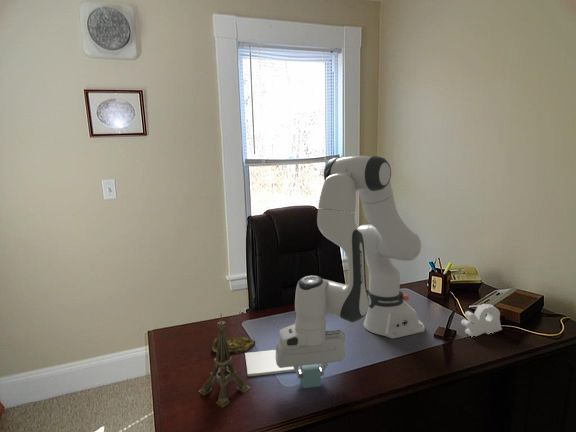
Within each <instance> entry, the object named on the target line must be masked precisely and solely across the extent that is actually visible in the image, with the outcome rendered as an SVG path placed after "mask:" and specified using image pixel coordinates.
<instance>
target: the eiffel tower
mask: <svg viewBox="0 0 576 432" xmlns="http://www.w3.org/2000/svg"><path fill="white" fill-rule="evenodd" d="M215 327H217V328H218V331H217V332H218V333H217V338H218V344H217V353H216V354H215V355H216V356H215V358H214V359H213V362H214V367H213V370H212V372H210V377H208V380H206V382H205V383H204V384H203V385H202V387H201V388H200V389H199V390H197V392H198V393H199V394H201V395H202V396H206V395H207V394H209V393H211V392H212V391H213V390H212V388H213V386H214V384H215V383H217V384H218V385H219V386H220V389H219V395H218V399H217V400H216V402H215V404H216V405H217V406H220V408H224V407H226V406H228V404H230V403H231V401H230V399H229V397H228V392H227V387H226V386H227V385H228V384H229V383H230V382H234V384H235V385H236V389H237V391H239V392H241V393H243V394H244V393H246V392H247V391H249V390H250V389H251V387H250V386H249V385H247V384H246V382H245V381H244V380H243V379H242V378H241V377H240V376H239V375H238V374H237V372H238V371H237V370H235V368H234V366H233V363H232V361H233V357H232V356H230V355H231V354H229V350H228V344H227V339H228V338H227V334H226V333H227V332H226V329H225V328H226V327H228V325H227V322H226V321H224V320H223V317H222V314H220V321H218V322H217V323H216V325H215Z"/></svg>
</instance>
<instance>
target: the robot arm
mask: <svg viewBox="0 0 576 432" xmlns="http://www.w3.org/2000/svg"><path fill="white" fill-rule="evenodd" d="M391 177H392V169H391V165H390V163H389V162H388V161H387V159H385V158H384V157H381V156H376V155H373V156H370V155H369V156H368V155H354V156H344V157H342V156H338V157H334V158H331V159H329V160H328V161H327V163H326V164H325V165H324V169H323V178H324V181H323V182H324V183H323V184H322V189H321V192H320V196H319V200H318V201H319V202H318V206H317V214H316V215H317V217H316V224H317V227H318V228H317V229H318V230H319V231H320V233H321V234H322V236H323V237H325V238H326V239H327V240H329V241H331V242H332V243H333V244H335V245H337V246H338V247H339V248H340V249H342V251H343V252H344V253H345V255H346V258H347V273H348V274H347V275H348V276H347V277H348V284H345V283H341V282H336V281H333V280H329V279H324V278H322V277H321V276H319V275H306V276H303V277H301V278H300V279H299V280H298V281H297V284H296V289H295V299H294V311H295V314H296V317H295V322H294V323H293V324H291V325H288V326H286V327H283V328H281V329H280V330H279V333H278V334H279V339H278V340H277V343H276V347H275V350H276V364H277V366H278V367H279V368H284V367H294V370H295V371H294V372H296V378H297V379H301V378H303V373H302V370H298V369H300V366H302V365H311V364H318V365H319V364H321V366H319V368H320V370H321V377H323V376H325V371H326V369H327V367H328V366H329V363H336V362H338V363H339V362H343V361H344V359H346V351H345V344H344V343H345V341H346V335H345V333H344V332H343V331H342V330H340V329H336V330H327V321H326V317H325V315H326V314H328V315H330V316H334V317H338V318H341V319H342V320H345V321H346V322H347V321H348V322H350V323H355V322H357V321H359V320H361V319H363V318H364V317H365V318H364V321H363V328H364V329H365V330H367V331H369V332H370V333H373V334H375V335H379V336H383V337H384V336H385V337H387V338H390V339H397V338H401V337H407V336H410V335H414V334H419V333H424V332H425V330H426V329H425V325H424V323H423V322H422V321H421V320H420V319H419V315H418V312H417V311H416V310H415V309H414V308H413V307H412V305H409V303H407V302H408V301H409V299H410V297H409V295H407V294H406V293H404V292H402V291H401V290H400V289H401V288H400V286H401V285H400V284H401V274H400V271H399V269H398V268H397V267H396V266H395V265H394V263H392V261H391V259H392V260H396V261H404V262H405V261H414V260H415V259H416V258H417V257H418V256H419V254H420V252H421V250H422V241H421V239H420V237H419V235H418V234H417V233H415V232H414V231H413V230H411V229H410V228H409V227H408V226H407V225H406V223H405V222H404V220H403V219H402V218H401V215H400V214H399V213H398V210H397V207H396V202H395V197H394V194H393V189H392V184H391V182H390V181H391ZM357 192H358V194H359V198H360V199H359V200H360V204H361V209H362V212H363V216H364V218H365V220H366V222H368V223H369V224H361V225H360V226H359V227H357V224H356V219H355V217H356V216H355V215H356V214H355V213H356V205H357V204H356V203H357V200H356V199H357V197H356V196H357V194H356V193H357ZM366 265H367V268H368V281H369V282H368V289H367V278H366V277H367V276H366V274H367V273H366Z"/></svg>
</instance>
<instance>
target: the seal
mask: <svg viewBox="0 0 576 432" xmlns="http://www.w3.org/2000/svg"><path fill="white" fill-rule="evenodd" d="M226 339H227V344H228V350H229V355H233V354H234V355H235V354H241V353H246V352H247V351H249V350H250V349H252V348H253V347H254V346H255V345H256V341H255V339H252V338H247V337H242V336H239V337H230V338H226ZM217 344H218V337H216V338H215V339H214V341H213V345H212V346H211V347H212V348H211V350H212V352H214V353H215V354H217Z"/></svg>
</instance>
